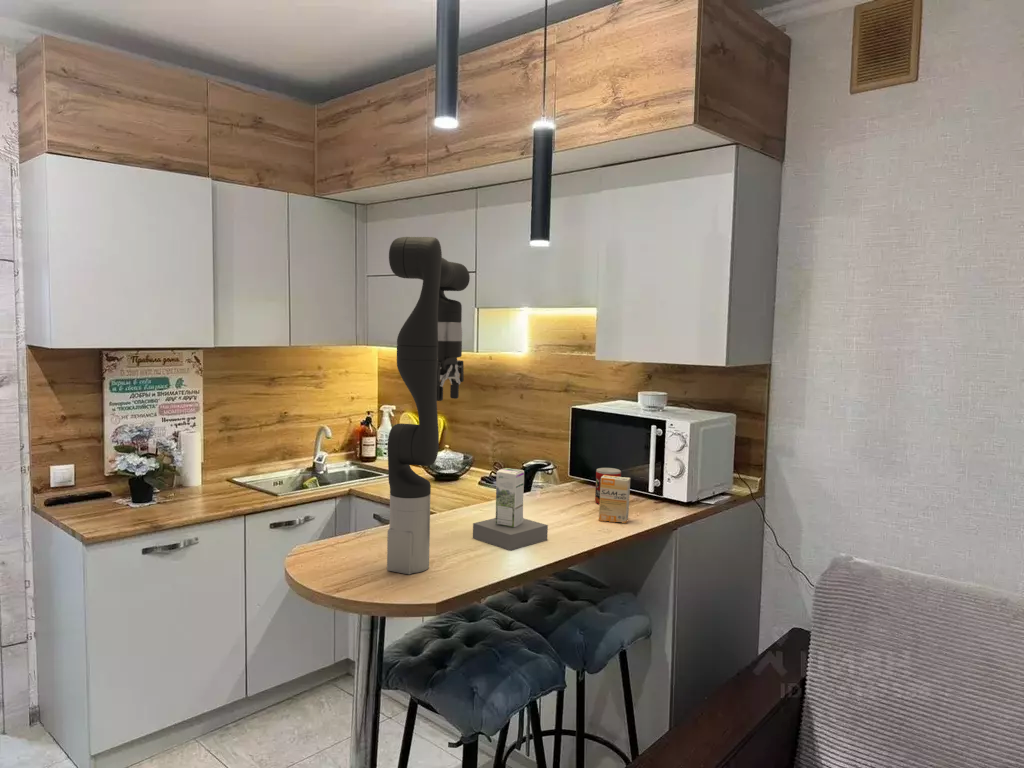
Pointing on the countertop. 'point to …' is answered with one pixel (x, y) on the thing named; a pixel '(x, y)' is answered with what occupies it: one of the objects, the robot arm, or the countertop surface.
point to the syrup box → (509, 497)
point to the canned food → (599, 474)
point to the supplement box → (614, 499)
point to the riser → (510, 533)
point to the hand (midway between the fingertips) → (446, 399)
